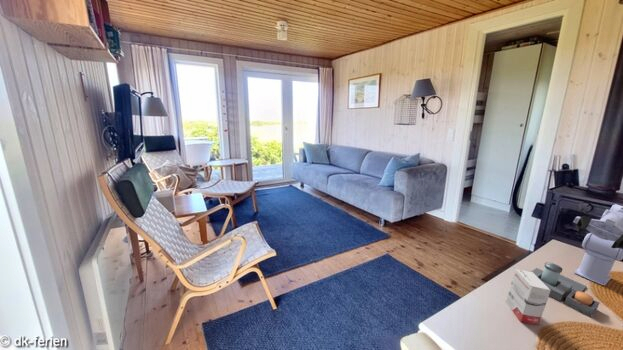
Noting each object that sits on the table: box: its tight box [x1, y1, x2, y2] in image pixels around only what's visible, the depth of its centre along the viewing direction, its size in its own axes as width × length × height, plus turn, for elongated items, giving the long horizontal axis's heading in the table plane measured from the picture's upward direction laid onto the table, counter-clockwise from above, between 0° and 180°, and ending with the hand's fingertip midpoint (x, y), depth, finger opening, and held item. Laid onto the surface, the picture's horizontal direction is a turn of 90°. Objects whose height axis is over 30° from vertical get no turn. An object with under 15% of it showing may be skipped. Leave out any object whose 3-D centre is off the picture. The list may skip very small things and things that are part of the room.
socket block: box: [530, 267, 573, 302], centre depth 88 cm, size 10×10×2 cm
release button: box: [574, 291, 595, 307], centre depth 80 cm, size 4×4×2 cm
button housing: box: [564, 290, 600, 318], centre depth 80 cm, size 6×6×2 cm
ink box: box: [505, 268, 551, 326], centre depth 75 cm, size 9×5×12 cm, turn 168°
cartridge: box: [540, 262, 563, 287], centre depth 88 cm, size 4×4×8 cm
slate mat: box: [559, 274, 587, 292], centre depth 90 cm, size 7×7×1 cm
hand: (596, 237), depth 79 cm, fingers open, 7 cm apart
